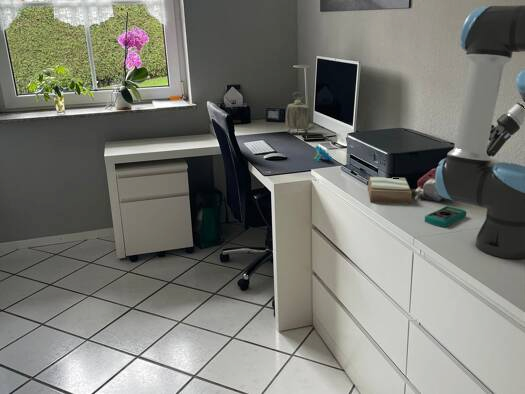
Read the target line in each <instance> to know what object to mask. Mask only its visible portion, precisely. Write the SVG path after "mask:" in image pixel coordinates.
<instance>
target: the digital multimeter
mask: <svg viewBox="0 0 525 394" xmlns="http://www.w3.org/2000/svg"><path fill="white" fill-rule="evenodd" d="M466 217H467V211H466V210H465V209H462V208H458V207H455V206H454V207H453V206H449V205H446V206H444V207H442V208H440V209H438V210H436V211H433V212H431V213H429V214H427V215H425V216H424V223H427V224H430V225H432V226H436V227H442V228H446V227H447V228H448V226H450V225H452V224H454V223H455V222H458V221H460V220H463V219H464V218H466Z"/></svg>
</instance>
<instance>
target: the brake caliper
mask: <svg viewBox="0 0 525 394" xmlns="http://www.w3.org/2000/svg"><path fill="white" fill-rule="evenodd" d="M436 169H437V168H432V169H431V170H430V171H428V172H427V173H426V174H424V175H423V176H422V177H420V178H419V179H418V180H417V188H416V189H415V191H414V193H415V196H414V200H418V199H422V200H424V199H425V200H429V201H437V202H441V201H442V200H443V197H442V196H440V194H439V193H438V191H437V189H436V184H435V175H436Z"/></svg>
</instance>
